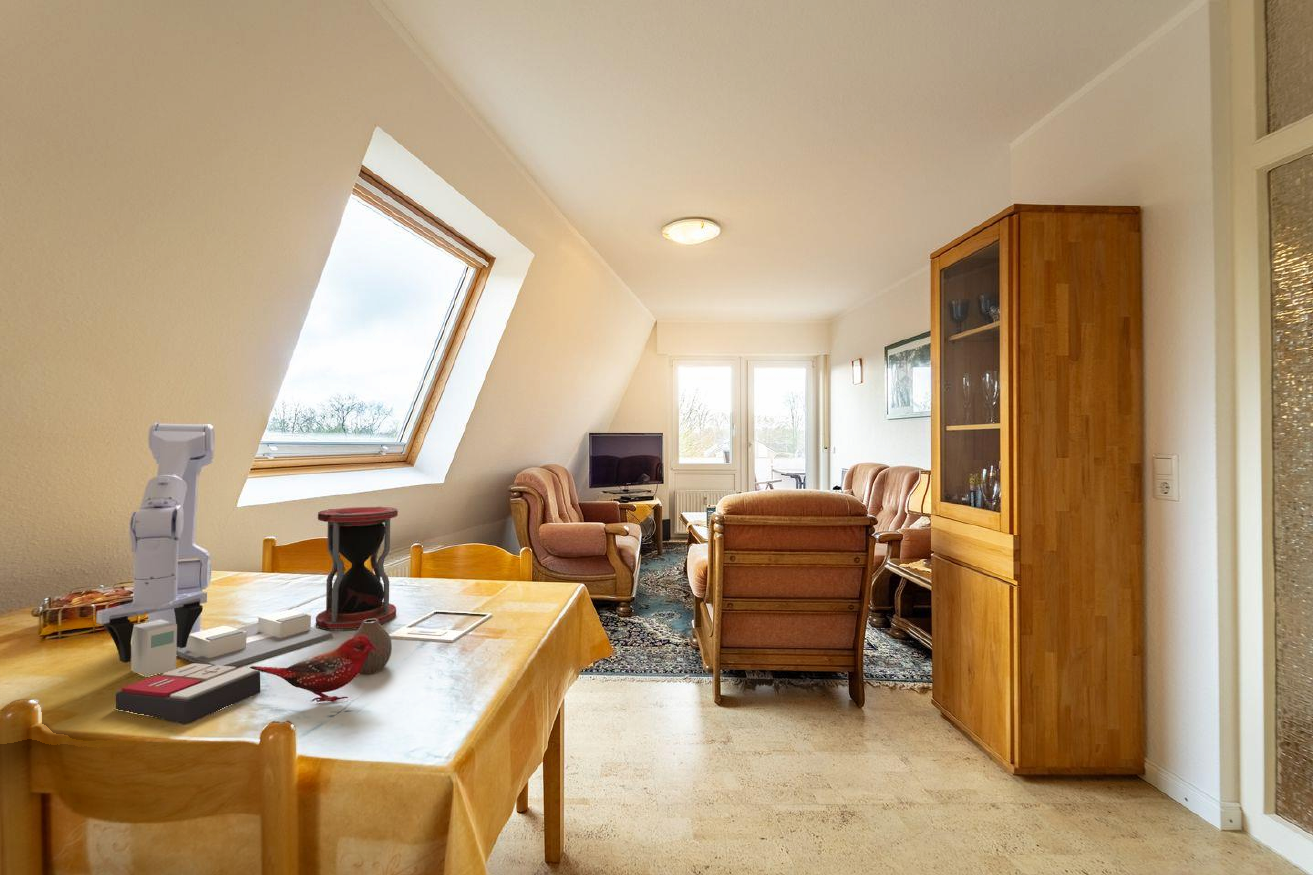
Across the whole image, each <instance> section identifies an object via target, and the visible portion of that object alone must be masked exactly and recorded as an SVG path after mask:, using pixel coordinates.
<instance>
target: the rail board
mask: <svg viewBox="0 0 1313 875" xmlns="http://www.w3.org/2000/svg"><path fill="white" fill-rule="evenodd" d="M257 618H258V619H257V620H258V621H257V622H258V623H255V624H249V625H246V626H242V627H238V628H235V627H231V626H228V625H221V626H217V627H212V628H209V629H204V631H200V632H196V633H191V634H189V637H188V640H187V644H186V647H184V648H180V647H177V648H176V655H177V656H176V657H178V656H179V658H180V657H181V659H183V660H185V659H186V661H189V662H191V663H193V662H195V663H197V664H208V665H213V666H215V665H220V666H231V667H236V668H237V667H242V666H244V665H248V664H251V663H253V662H257V661H261V660H264V659H267V658H270V657H274V656H277V655H280V654H284V653H286V652H290V651H293V650H296V649H300V648H304V647H305V646H309V645H313V644H316V643H319V642H322V641H326V640H329V639H332V638H333V637H334V636H333V634H334V633H333V632H332V631H329V630H326V629H322V628H318V627H317V628H316V627H312V622H311V621H312V615H311V614H308V613H303V612H300V611H295V610H292V609H286V610H283V611H282V610H281V611H279V612H274V613H270V614H266V615H261V616H257Z"/></svg>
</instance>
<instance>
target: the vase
mask: <svg viewBox="0 0 1313 875" xmlns="http://www.w3.org/2000/svg"><path fill="white" fill-rule="evenodd" d="M389 634H390V633H389V632H388V631H387V629H385V627H383V626H382V624H380V623H379V621H378V619H367V620H364V621H363V622H362V624H361V626H360V628H359V629H356V632H355V633H354V634H353V636H352V637H355V636H357V635H365V636H367V637H368V638H369V640H370V642H371V643H372V644H373V645H374V646H376V647H377V649H372V650H370V652H369V655H368V658H367V659H366V660H365V663H364V665H363V667H362V669H361V671H360V672H359V674H358V675H363V676H364V675H365V676H367V675H372V674H376V673H378V672H380V671H382V670H383V669H384V668H385V667H386V665H387V664H388V662H389V661H390V658H391V655H392V638H390V636H389Z"/></svg>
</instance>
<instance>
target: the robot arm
mask: <svg viewBox="0 0 1313 875" xmlns="http://www.w3.org/2000/svg"><path fill="white" fill-rule="evenodd" d="M215 435H216V434H215V428H214V426H213V425H212V424H210V423H206V424H197V423H196V424H195V423H194V424H190V423H187V424H186V423H185V424H184V423H160V422H154V423H153V424H152V425H151V426H149V430H148V447H149V450H150V451H151V454H152V457H153V459H154V460H155V462H156V464H158V467H157V474H156V476H155V477H153V478H151V479H149V480H148V481H147V482H146V486H145V488H144V492H143V496H142V499H141V503H140V505H139V509H138V511H133V512H132V513H131V516H130V519H129V527H128V528H129V530H128V531H129V536H130V541H131V545H130V546H131V552H132V553H134V555H133V556H134V557H133V584H132V585H133V588H132V589H133V590H132V592H133V594H132V602H129V603H125V604H122V605H121V604H120V605H118V606H112V607H109V608H105V609H100V610H97V611H96V623H98V624H101V625H103V627H104V628H105V630H106V631H107V632H108V633H109V635H110V637H111V639H112V641H113V643H114V645H115V647H116V651H117V652H118V656H119V661H120V662H122V663H124V664H127V663H129V662H130V663H131V655H132V632H133V627H134V625H135V623H133V622H131V620H130V619H129V618H133V617H138V616H142V615H147V622H150V621H155V620H160V619H162V620H165V621H168V622H172V623H175V624H177V647H180V648H184V647H186V644H187V641H188V637H189V634H191V633H196V632H200V631H204V630H205V629H203V628H202V627H201V625H202V623H201V622H202V621H201V620H202V613H203V608H204V606H203V605H202V604H205V603H208V592H206V591H203V590H206V589H207V588H208V587H209V586H210V584H211V580H212V561H211V559H212V556H211V554H210V552H209V551H208V549H205V548H203V547H202V546H199V545H198V544H196V542H195V541H196V530H197V529H196V528H197V527H196V526H197V510H198V494H199V478H200V475H201V472H202V470H203V469H202V468H203V467H206V466H208V465H210V464H211V465H212V463H213V459H214V456H215V454H214V453H215V452H214V450H215V438H216V436H215ZM185 559H186V560H185ZM187 559H191V560H187ZM192 559H193V560H192ZM194 559H195V560H194ZM179 560H180V561H179ZM182 560H183V561H182Z"/></svg>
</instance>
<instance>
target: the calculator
mask: <svg viewBox="0 0 1313 875" xmlns="http://www.w3.org/2000/svg"><path fill="white" fill-rule="evenodd" d="M260 693H261V671H258V670H254V669H251V668H249V669H248V668H237V667H231V666H220V665H215V666H213V665H208V664H197V663H193V662H192V663H190V664H187V665H184V666H181V667H178V668H176V669H175V670H172V671H169V672H166V673H163V674H161V675H156V676H153V677H149V678H146V679H144V680H140V681H138V682H135V683H134V682H133V683H131V684H128V685H126V686H122V687H121V690H119V691H116V693H115V710H116V709H118V710H123V711H129V712H133V713H137V714H144V715H149V716H153V717H152V718H154V717H157V718H156V719H163V720H164V721H165V720H167V721H166V722H170V723H175V724H180V725H189V724H192V723H194V722H197V721H199V720H201V719H203V718H206V717H208V716H210V715H212V713H213V714H215V713H217V712H219V711H218V710H220V709H222V708H224V707H226V706H229V705H231V704H233V705H236V704H238V703H241V702H242V701H244V700H247V699H249V698H251V696H252V697H253V696H256V695H258V694H260ZM235 703H236V704H235ZM231 706H232V705H231ZM229 707H230V706H229ZM226 708H227V707H226ZM224 709H225V708H224ZM222 710H223V709H222ZM216 711H217V712H216ZM220 711H221V710H220ZM214 712H215V713H214ZM209 714H210V715H209ZM207 715H208V716H207ZM205 716H206V717H205Z"/></svg>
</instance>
